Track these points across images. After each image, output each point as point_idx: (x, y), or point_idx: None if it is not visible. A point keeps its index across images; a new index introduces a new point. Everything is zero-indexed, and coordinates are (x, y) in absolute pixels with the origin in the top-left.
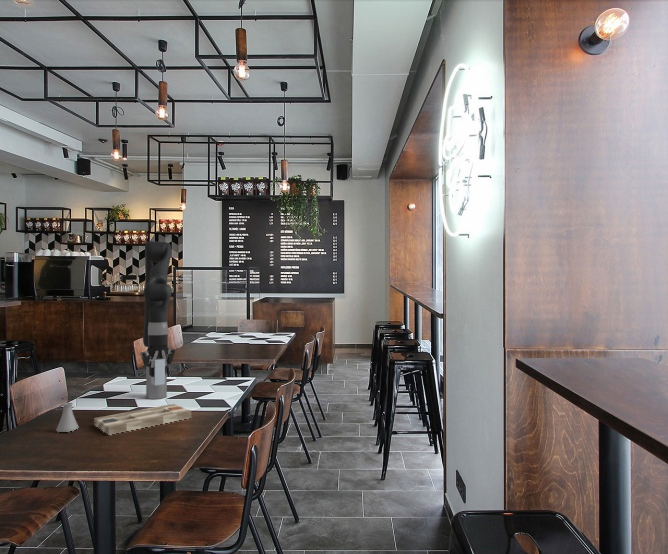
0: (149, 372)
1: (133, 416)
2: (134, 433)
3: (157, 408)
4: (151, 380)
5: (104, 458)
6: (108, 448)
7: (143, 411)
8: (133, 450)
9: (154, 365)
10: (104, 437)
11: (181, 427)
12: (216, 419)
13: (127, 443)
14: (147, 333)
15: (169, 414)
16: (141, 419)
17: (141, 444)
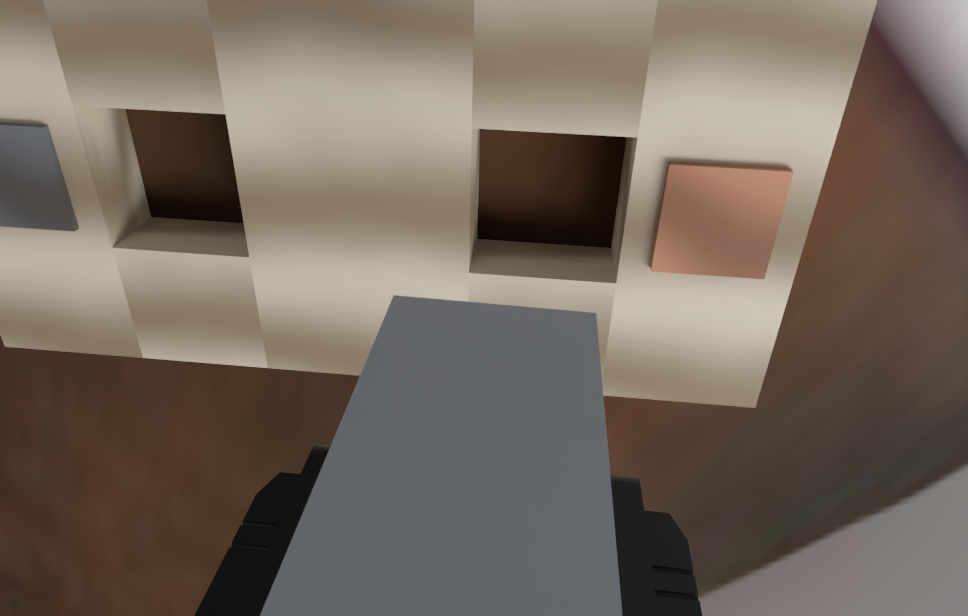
0: (240, 546)
1: (242, 187)
2: (222, 384)
3: (583, 55)
4: (378, 350)
5: (23, 593)
6: (43, 505)
7: (392, 66)
8: (159, 598)
9: None
10: None
11: None
12: (842, 505)
13: (147, 507)
14: None
15: None
16: (280, 331)
17: (213, 562)
